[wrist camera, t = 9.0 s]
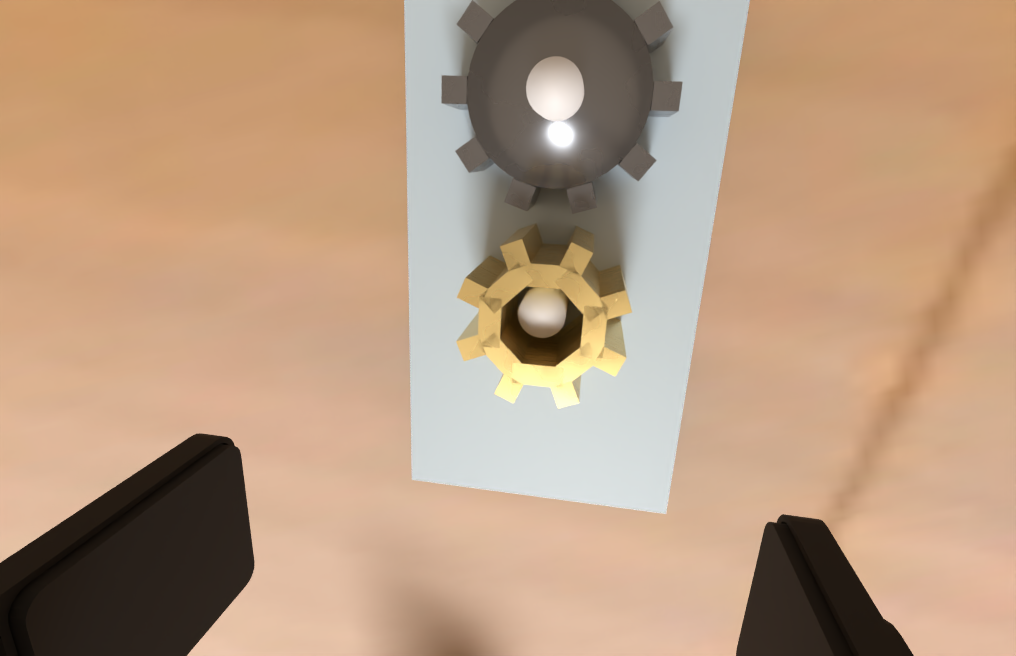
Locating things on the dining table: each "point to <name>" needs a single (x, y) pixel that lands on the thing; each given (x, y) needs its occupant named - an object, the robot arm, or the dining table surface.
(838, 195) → the dining table surface
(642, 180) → the board
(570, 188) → the steel gear
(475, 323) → the brass gear
